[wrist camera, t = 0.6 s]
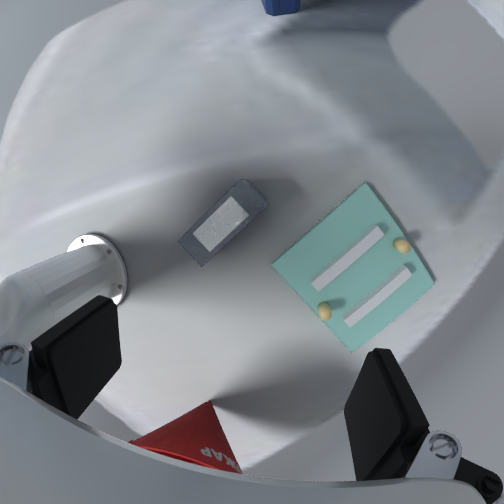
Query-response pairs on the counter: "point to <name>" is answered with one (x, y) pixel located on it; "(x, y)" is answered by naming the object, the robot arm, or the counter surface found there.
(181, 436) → the fire bucket
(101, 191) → the counter surface
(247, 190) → the block
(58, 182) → the counter surface
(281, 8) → the electronic device
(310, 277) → the docking tray
